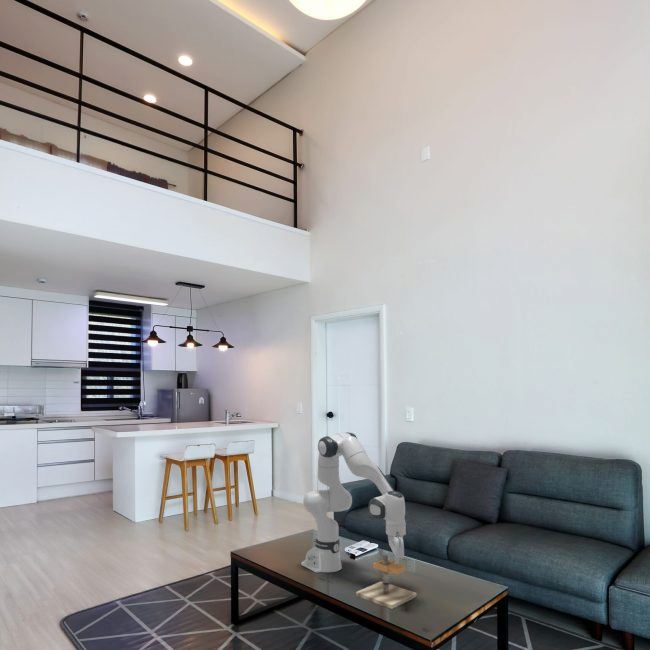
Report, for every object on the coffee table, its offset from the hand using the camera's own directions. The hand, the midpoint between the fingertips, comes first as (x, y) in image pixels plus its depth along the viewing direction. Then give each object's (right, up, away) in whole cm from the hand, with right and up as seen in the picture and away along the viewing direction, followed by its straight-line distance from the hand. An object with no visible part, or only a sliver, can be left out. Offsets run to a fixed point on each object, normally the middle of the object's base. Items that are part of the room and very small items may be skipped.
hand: (396, 562), depth 221 cm
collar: (-3, -4, +2) cm, 5 cm away
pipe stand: (-4, -16, +2) cm, 17 cm away
